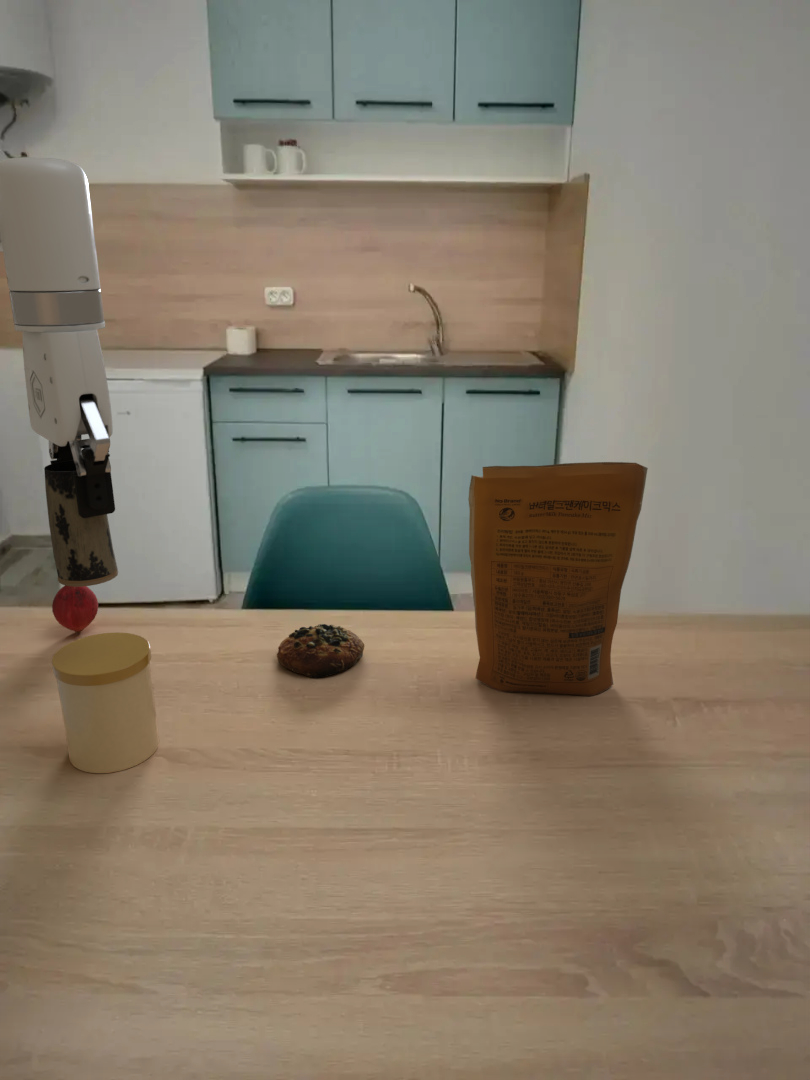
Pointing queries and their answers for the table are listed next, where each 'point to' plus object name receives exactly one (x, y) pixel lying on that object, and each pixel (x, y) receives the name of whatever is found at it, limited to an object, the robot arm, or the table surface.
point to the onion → (75, 607)
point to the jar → (107, 701)
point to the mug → (76, 532)
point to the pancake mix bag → (551, 571)
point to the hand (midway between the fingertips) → (85, 504)
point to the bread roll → (320, 650)
